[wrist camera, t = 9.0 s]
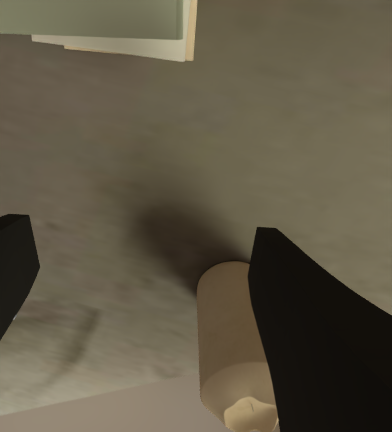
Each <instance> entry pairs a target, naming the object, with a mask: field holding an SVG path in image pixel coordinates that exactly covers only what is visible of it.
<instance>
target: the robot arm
mask: <svg viewBox="0 0 392 432" xmlns="http://www.w3.org/2000/svg"><path fill="white" fill-rule="evenodd" d="M39 269H40V264H39V260H38V255H37V250H36V246H35V241H34V236H33V231H32V227H31V222H30V217H29V215H20V214H7V215H4V216H2V217H0V340H1V338H2V337H3V335H4V334H5V332H6V330H7V329H8V327H9V326H10V324H11V322H12V321H13V320H14V319H15V317H16V315H17V313H18V311H19V309H20V308H21V306H22V304H23V303H24V301H25V299H26V298H27V296H28V294H29V292H30V290H31V288H32V285H33V283H34V281H35V278H36V276H37V273H38V271H39ZM247 277H248V285H249V293H250V300H251V305H252V309H253V313H254V316H255V320H256V324H257V327H258V331H259V335H260V338H261V342H262V345H263V349H264V353H265V356H266V360H267V363H268V367H269V371H270V376H271V380H272V385H273V391H274V397H275V403H276V408H277V414H278V420H279V426H280V432H392V315H390V314H388V313H387V312H385V311H383V310H382V309H380V308H378V307H377V306H375V305H374V304H372V303H371V302H369V301H368V300H366V299H365V298H363V297H361V296H360V295H358V294H357V293H355V292H354V291H353V290H351V289H350V288H348V287H347V286H345V285H344V284H343V283H341V282H340V281H339V280H338V279H336V278H335V277H334V276H332V275H331V274H330V273H328V272H327V271H326V270H325V269H323V268H322V267H321V266H320V265H318V264H317V263H316V262H315V261H314V260H312V259H311V258H310V257H309V256H308V255H307V254H305V253H304V252H303V251H302V250H301V249H300V248H299V247H297V246H296V245H295V244H294V243H293V242H292V241H291V240H289V239H288V238H287V237H286V236H285V235H284V234H283V233H281V232H280V231H279V230H278V229H276V228H266V227H257V230H256V235H255V240H254V245H253V250H252V255H251V260H250V266H249V271H248V276H247Z"/></svg>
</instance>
